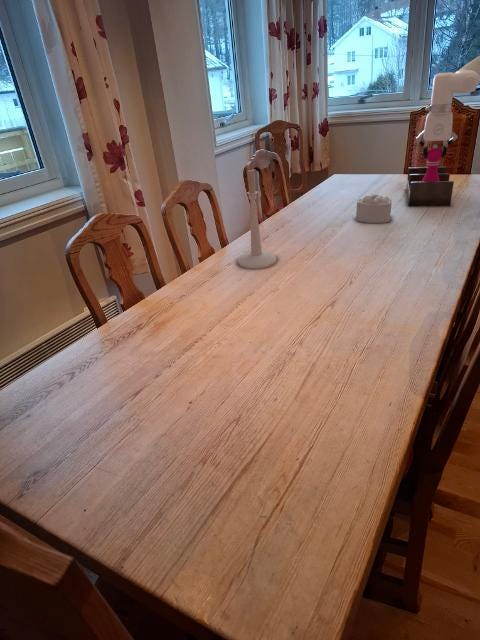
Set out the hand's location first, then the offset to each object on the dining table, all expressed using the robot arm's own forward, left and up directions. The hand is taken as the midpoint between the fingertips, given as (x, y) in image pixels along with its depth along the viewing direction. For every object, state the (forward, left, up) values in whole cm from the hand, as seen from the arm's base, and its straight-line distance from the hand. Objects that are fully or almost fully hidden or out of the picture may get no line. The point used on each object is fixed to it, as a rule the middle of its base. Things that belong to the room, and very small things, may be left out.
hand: (433, 157), depth 176 cm
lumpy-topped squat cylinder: (+22, +24, -18) cm, 38 cm away
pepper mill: (0, 0, -15) cm, 15 cm away
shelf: (0, -7, -18) cm, 19 cm away
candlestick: (+58, +70, -18) cm, 93 cm away
